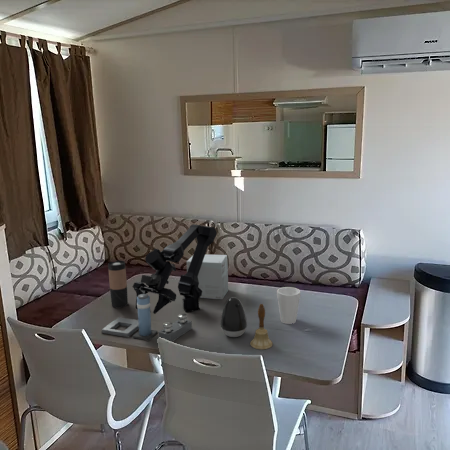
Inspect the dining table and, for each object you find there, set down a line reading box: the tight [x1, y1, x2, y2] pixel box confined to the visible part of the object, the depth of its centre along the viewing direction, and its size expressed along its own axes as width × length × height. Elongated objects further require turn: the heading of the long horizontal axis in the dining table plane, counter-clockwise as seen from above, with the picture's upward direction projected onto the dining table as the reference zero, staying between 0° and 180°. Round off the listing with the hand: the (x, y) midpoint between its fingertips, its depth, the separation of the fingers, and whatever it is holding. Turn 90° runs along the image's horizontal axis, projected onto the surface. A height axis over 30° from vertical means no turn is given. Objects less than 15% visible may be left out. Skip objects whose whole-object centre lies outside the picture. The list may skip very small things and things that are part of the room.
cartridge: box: [136, 293, 152, 336], centre depth 175 cm, size 5×5×16 cm
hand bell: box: [249, 303, 273, 351], centre depth 166 cm, size 8×8×16 cm
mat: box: [132, 329, 159, 341], centre depth 177 cm, size 7×7×1 cm
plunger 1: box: [162, 321, 173, 334], centre depth 173 cm, size 4×4×4 cm
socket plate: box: [101, 316, 139, 338], centre depth 183 cm, size 12×12×2 cm
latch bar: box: [157, 319, 193, 342], centre depth 177 cm, size 14×5×3 cm, turn 148°
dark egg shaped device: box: [220, 296, 248, 338], centre depth 175 cm, size 10×10×15 cm
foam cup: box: [276, 286, 301, 325], centre depth 186 cm, size 10×9×13 cm
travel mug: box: [107, 260, 129, 308], centre depth 205 cm, size 8×8×20 cm
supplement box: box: [186, 254, 229, 300], centre depth 217 cm, size 17×13×18 cm
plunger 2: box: [177, 313, 188, 324], centre depth 181 cm, size 4×4×4 cm
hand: (145, 310), depth 175 cm, fingers open, 9 cm apart
